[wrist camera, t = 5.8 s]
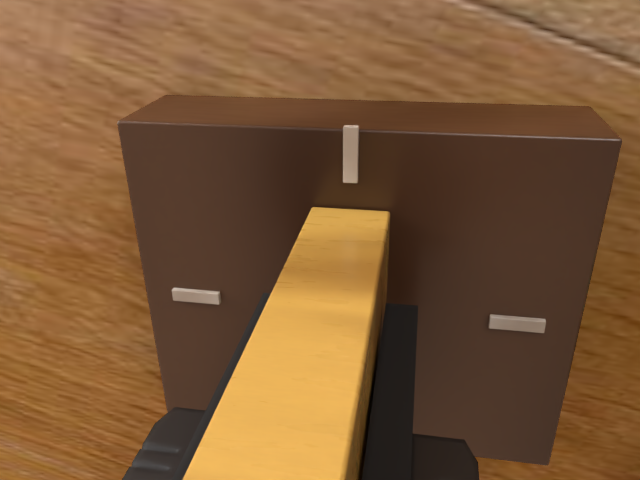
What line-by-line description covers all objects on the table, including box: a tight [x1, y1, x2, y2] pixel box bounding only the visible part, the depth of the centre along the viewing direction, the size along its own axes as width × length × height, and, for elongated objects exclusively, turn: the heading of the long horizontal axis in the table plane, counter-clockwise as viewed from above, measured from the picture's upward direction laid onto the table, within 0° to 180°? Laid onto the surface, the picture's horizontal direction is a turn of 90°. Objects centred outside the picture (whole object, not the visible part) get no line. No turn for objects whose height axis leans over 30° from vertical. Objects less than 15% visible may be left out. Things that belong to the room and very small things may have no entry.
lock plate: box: [117, 95, 622, 465], centre depth 17 cm, size 12×10×3 cm
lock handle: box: [183, 207, 390, 480], centre depth 12 cm, size 6×2×9 cm, turn 1°
